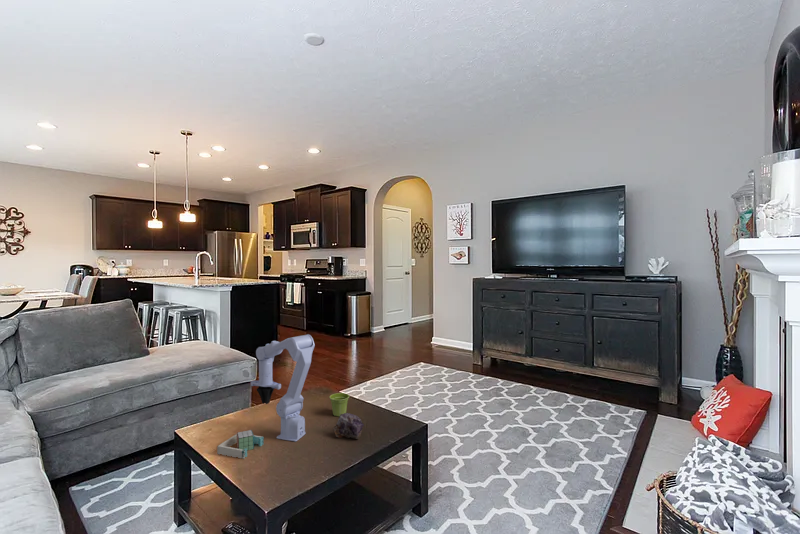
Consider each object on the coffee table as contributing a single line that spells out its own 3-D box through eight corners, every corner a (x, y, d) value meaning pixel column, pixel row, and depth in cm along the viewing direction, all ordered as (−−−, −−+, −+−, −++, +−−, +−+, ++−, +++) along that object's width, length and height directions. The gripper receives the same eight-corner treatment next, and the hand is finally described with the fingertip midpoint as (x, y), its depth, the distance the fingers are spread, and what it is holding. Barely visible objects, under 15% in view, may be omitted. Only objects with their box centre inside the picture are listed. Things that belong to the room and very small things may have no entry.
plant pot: (327, 412, 192) (327, 394, 192) (346, 409, 196) (346, 391, 196) (332, 419, 184) (332, 401, 183) (351, 416, 188) (351, 398, 187)
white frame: (263, 444, 160) (263, 436, 160) (243, 458, 148) (243, 451, 148) (238, 439, 163) (238, 432, 163) (217, 453, 152) (217, 446, 152)
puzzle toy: (253, 449, 156) (253, 435, 155) (238, 452, 153) (238, 438, 153) (251, 443, 161) (251, 429, 160) (236, 446, 158) (236, 432, 158)
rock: (355, 445, 162) (365, 434, 171) (358, 426, 161) (368, 415, 170) (330, 436, 166) (341, 426, 175) (332, 417, 165) (344, 407, 174)
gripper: (285, 371, 178) (285, 401, 179) (257, 368, 183) (257, 398, 183) (275, 376, 172) (275, 407, 172) (247, 373, 176) (247, 403, 176)
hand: (265, 403), depth 177 cm, fingers closed
